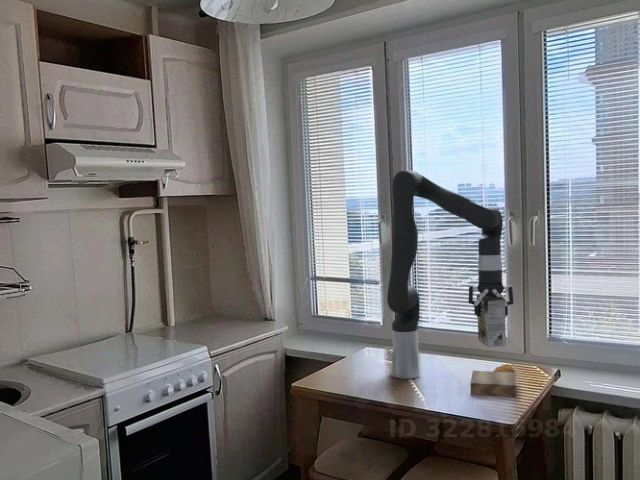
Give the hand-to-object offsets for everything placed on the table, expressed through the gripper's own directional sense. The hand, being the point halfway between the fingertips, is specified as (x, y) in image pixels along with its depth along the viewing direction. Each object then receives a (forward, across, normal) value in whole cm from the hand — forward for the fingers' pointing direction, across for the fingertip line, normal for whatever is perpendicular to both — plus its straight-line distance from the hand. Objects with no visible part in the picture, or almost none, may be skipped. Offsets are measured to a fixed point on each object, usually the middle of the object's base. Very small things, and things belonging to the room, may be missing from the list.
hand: (491, 316), depth 185 cm
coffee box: (+9, 0, 0) cm, 9 cm away
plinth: (+25, 0, 0) cm, 25 cm away
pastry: (+25, +3, +16) cm, 30 cm away
